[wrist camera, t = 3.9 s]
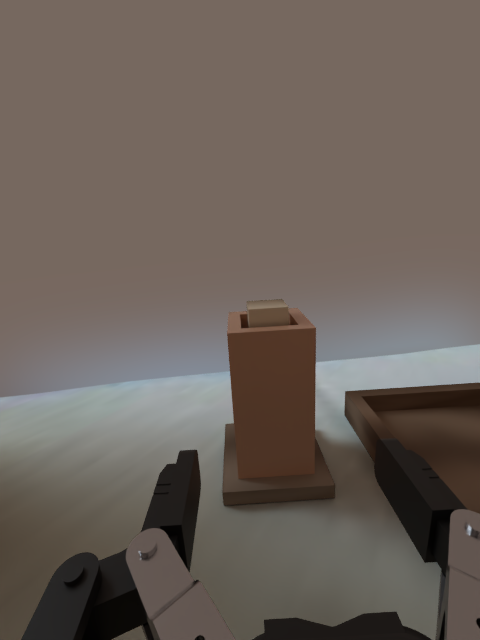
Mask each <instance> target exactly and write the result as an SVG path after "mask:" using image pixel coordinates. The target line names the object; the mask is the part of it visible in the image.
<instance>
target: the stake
mask: <svg viewBox="0 0 480 640" xmlns="http://www.w3.org/2000/svg"><path fill="white" fill-rule="evenodd" d="M247 317H248V328H256V327H272V326H288V325H289V315H288V306H287V305H286V303H285V302H284V301H283V300H282V299H276V300H260V301H247ZM222 493H223V503H224V505H237V504H252V503H268V502H283V501H298V500H313V499H329V498H335V484H334V482H333V479H332V477H331V474H330V472H329V470H328V467H327V465H326V462H325V460H324V457H323V455H322V453H321V450H320V448H319V445H318V443H317V440H316V438H315V474H305V475H289V476H274V477H259V478H243V479H238V468H237V455H236V442H235V428H234V424H226V427H225V449H224V470H223V492H222Z"/></svg>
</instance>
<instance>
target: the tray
mask: <svg viewBox="0 0 480 640" xmlns="http://www.w3.org/2000/svg"><path fill="white" fill-rule="evenodd" d="M345 416H346V418H347V420H348V421H349V423H350V424H351V426H352V427H353V429H354V431H355V432H356V434H357V435H358V437H359V439H360V440H361V442H362V443H363V445H364V446H365V448H366V450H367V451H368V453H369V454H370V456H371V458H372V459H373V461H374V462H375V453H376V442H377V440H378V439H389V438H396V439H398V440H399V442H400V443H401V444H402V445H403V447H404V448H405V449H406V450H412V451H414V452H415V453H417V454H418V455H420V456H421V457H423V458H424V459H425V460H426V462H427V463H428V464H429V465H430V466H431V467H432V470H434V471H435V472H436V473H437V474H438V476H439V478H440V479H442V480H443V481H444V483H445V484H446V485H447V486H448V487H449V488H450V490H451V491H452V492H453V493H454V494H455V495H456V497H457V498H458V499H459V500H460V501H461V502H462V503H463V505H464V506H465V507H466V508H467V509H468V510H470V511H474V512H476V513H479V514H480V383H467V384H452V385H436V386H421V387H406V388H390V389H375V390H359V391H345Z"/></svg>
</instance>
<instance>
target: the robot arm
mask: <svg viewBox="0 0 480 640" xmlns="http://www.w3.org/2000/svg"><path fill="white" fill-rule="evenodd" d="M374 469H375V476H376V479H377V482H378V484H379V485H380V487H381V489H382V491H383V492H384V494H385V496H386V497H387V499H388V501H389V502H390V504H391V506H392V508H393V509H394V511H395V513H396V514H397V516H398V518H399V519H400V521H401V523H402V525H403V526H404V528H405V530H406V531H407V533H408V535H409V537H410V538H411V540H412V542H413V543H414V545H415V547H416V548H417V550H418V552H419V554H420V555H421V557H422V559H423V560H424V562H425V563H427V562H437V563H438V564H439V566H440V567H441V575H440V589H439V603H438V617H437V630H436V639H435V640H480V514H479V513H476V512H474V511H470V510H468V509H467V508H466V507H465V506H464V505H463V503H462V502H461V501H460V500H459V499H458V498H457V497H456V495H455V494H454V493H453V492H452V491H451V490H450V488H449V487H448V486H447V485H446V484H445V483H444V481H443V480H442V479H440V478H439V476H438V474H437V473H436V472H435V471H434V470H432V467H431V466H430V465H429V464H428V463H427V462H426V460H425V459H424V458H423V457H421V456H420V455H418V454H417V453H415V452H414V451H412V450H406V449H405V448H404V447H403V445H402V444H401V443H400V442H399V440H398V439H396V438H389V439H378V440H377V442H376V453H375V466H374ZM200 490H201V479H200V470H199V461H198V453H197V450H184V451H180V452H179V455H178V459H177V463H176V464H167V465H166V467H165V468H164V469H163V470H162V472H161V473H160V475H159V478H158V481H157V484H156V487H155V490H154V495H153V497H152V500H151V503H150V506H149V509H148V512H147V515H146V518H145V521H144V525H143V528H142V530H141V533H139V534H138V535H137V536H136V537H135V538H134V539H133V540H132V541H131V543H130V544H129V546H128V548H127V549H125V550H124V551H122V552H120V553H118V554H115V555H112V556H110V557H107V558H105V559H102V560H99V561H98V558H97V557H96V556H95V555H94V554H92V553H88V552H87V553H80V554H77V555H75V556H73V557H71V558H69V559H68V560H66V561H65V562H64V563H63V564H62V565H61V566H60V567H59V568H58V569H57V570H56V572H55V573H54V574H53V576H52V578H51V580H50V582H49V584H48V586H47V588H46V590H45V592H44V594H43V596H42V598H41V600H40V602H39V604H38V607H37V609H36V611H35V613H34V615H33V617H32V619H31V621H30V623H29V625H28V627H27V629H26V631H25V633H24V635H23V637H22V639H21V640H111V639H113V638H115V637H117V636H119V635H121V634H124V633H126V632H128V631H130V630H132V629H134V628H136V627H138V626H140V625H141V626H142V629H143V632H144V635H145V637H146V640H235V638H234V636H233V635H232V633H231V631H230V630H229V628H228V626H227V625H226V623H225V621H224V620H223V618H222V616H221V615H220V613H219V611H218V610H217V608H216V606H215V604H214V603H213V601H212V599H211V598H210V596H209V594H208V593H207V591H206V589H205V588H204V586H203V585H202V583H201V582H200V581H199V580H196V581H194V580H193V578H192V577H191V575H190V573H189V572H190V565H191V557H192V550H193V543H194V535H195V528H196V521H197V513H198V506H199V499H200ZM264 629H265V633H263V634H261V635H259V636H257V637H255V638H254V639H252V640H431V639H430V638H428V637H427V636H425V635H423V634H422V633H420V632H418V631H416V630H413V629H411V628H408V627H405V626H402V624H401V621H400V619H399V617H398V614H397V612H383V613H367V614H362V615H360V616H358V617H355V618H353V619H351V620H349V621H346V622H344V623H342V624H340V625H337V626H334V627H330V626H326V625H322V624H318V623H314V622H311V621H307V620H303V619H299V618H286V619H269V620H264Z"/></svg>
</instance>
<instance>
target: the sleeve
mask: <svg viewBox="0 0 480 640" xmlns="http://www.w3.org/2000/svg"><path fill="white" fill-rule="evenodd" d="M288 315H289V325H288V326H272V327H256V328H248V317H247V311H243V312H229V317H228V331H227V336H228V349H229V362H230V376H231V389H232V402H233V415H234V428H235V442H236V455H237V468H238V479H243V478H259V477H274V476H289V475H305V474H315V364H316V357H315V356H316V354H315V353H316V328H315V327H314V325H313V324H312V323H311V322H310V321H309V320H308V319H307V318H306V317H305V316H304V315H303V314H302V313H301V311H300V310H299V309H298V308H289V309H288Z"/></svg>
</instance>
